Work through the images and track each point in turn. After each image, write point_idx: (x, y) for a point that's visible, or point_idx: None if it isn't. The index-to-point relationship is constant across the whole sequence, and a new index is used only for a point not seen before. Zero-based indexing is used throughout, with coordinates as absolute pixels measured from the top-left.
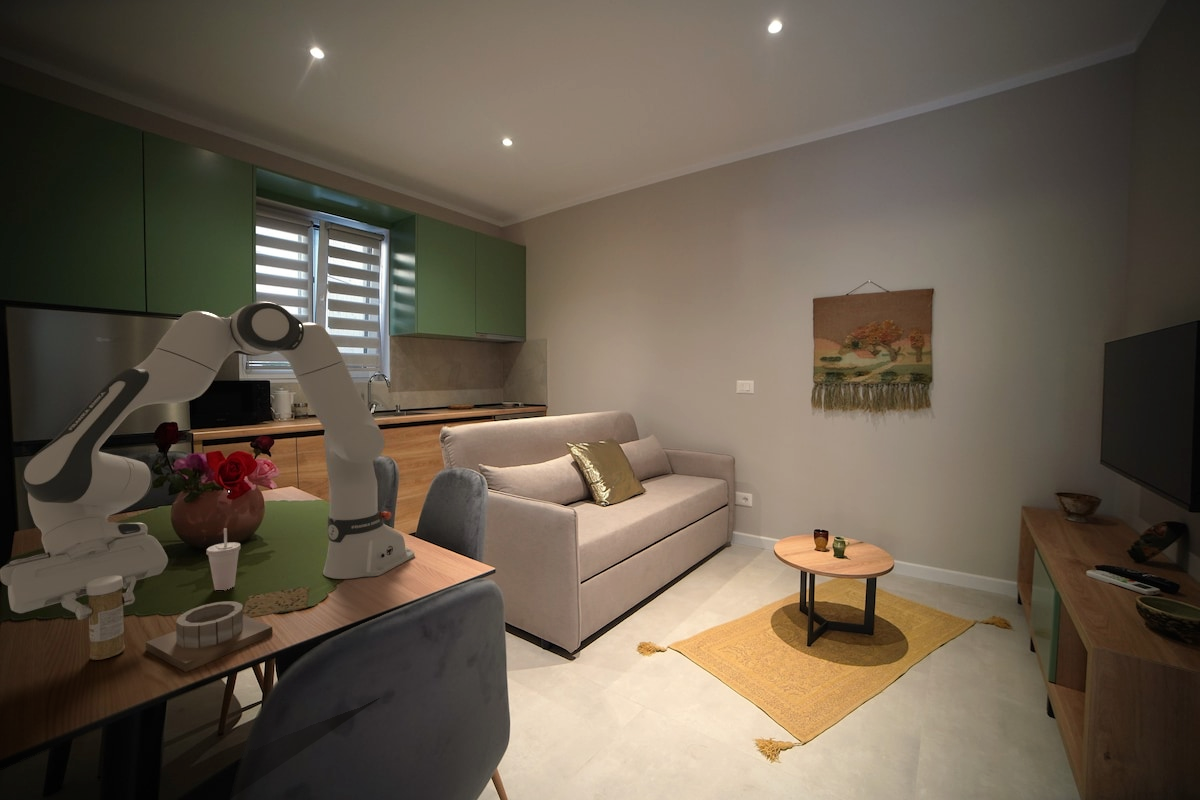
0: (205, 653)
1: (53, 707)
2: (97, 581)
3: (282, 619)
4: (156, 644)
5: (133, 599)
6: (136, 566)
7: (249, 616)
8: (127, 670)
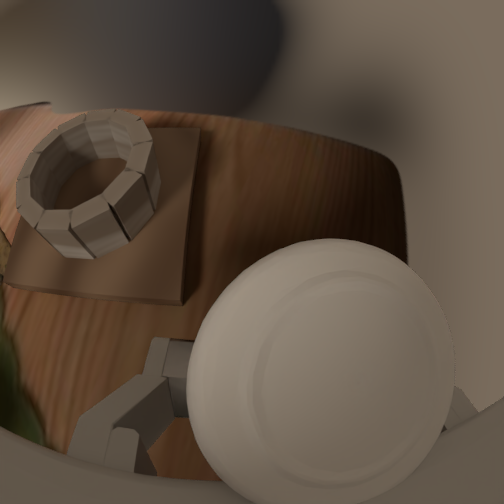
0: (161, 132)
1: (366, 219)
2: (408, 387)
3: (14, 185)
4: (175, 255)
5: (161, 338)
6: (8, 483)
7: (7, 250)
8: (251, 238)
